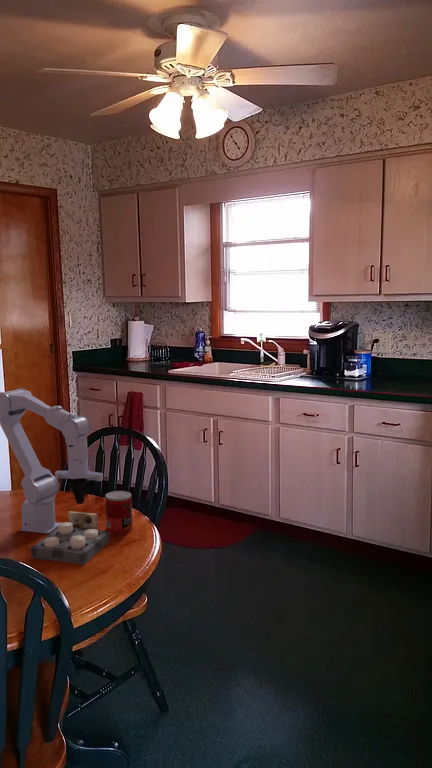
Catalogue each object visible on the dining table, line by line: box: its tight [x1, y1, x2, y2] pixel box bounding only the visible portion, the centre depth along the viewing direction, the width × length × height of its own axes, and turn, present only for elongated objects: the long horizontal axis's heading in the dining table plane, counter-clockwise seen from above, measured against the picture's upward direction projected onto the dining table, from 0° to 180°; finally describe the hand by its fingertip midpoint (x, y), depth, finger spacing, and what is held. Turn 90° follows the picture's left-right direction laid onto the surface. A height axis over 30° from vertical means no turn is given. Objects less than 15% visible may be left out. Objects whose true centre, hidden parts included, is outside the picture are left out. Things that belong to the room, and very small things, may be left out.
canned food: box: [104, 490, 133, 535], centre depth 187 cm, size 8×8×11 cm
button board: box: [30, 527, 111, 565], centre depth 173 cm, size 16×16×3 cm
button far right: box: [84, 529, 99, 539], centre depth 176 cm, size 4×4×3 cm
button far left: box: [57, 521, 73, 536], centre depth 178 cm, size 4×4×3 cm
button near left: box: [44, 537, 59, 547], centre depth 170 cm, size 4×4×3 cm
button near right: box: [70, 535, 85, 550], centre depth 168 cm, size 4×4×3 cm
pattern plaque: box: [68, 510, 99, 530], centre depth 184 cm, size 9×1×6 cm, turn 75°
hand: (80, 503), depth 181 cm, fingers closed
